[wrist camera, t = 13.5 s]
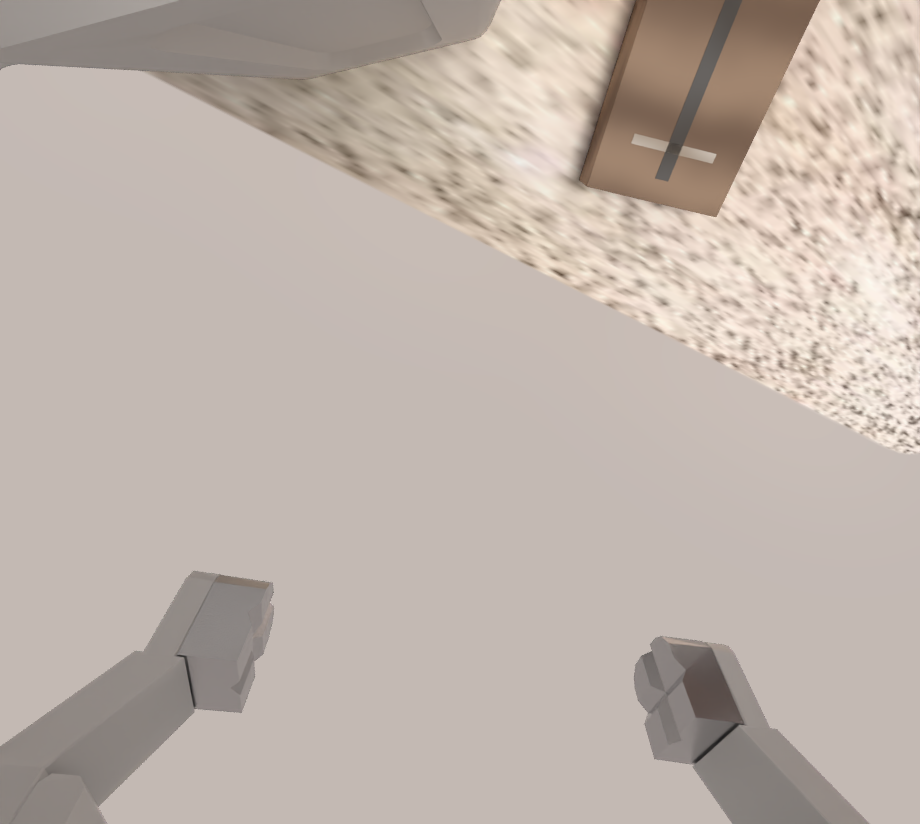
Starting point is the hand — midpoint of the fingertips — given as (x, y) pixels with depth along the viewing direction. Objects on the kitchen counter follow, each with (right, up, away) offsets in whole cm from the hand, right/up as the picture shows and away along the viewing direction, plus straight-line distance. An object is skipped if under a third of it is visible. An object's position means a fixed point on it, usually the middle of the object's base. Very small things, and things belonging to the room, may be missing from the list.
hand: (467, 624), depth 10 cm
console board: (+16, +30, +22) cm, 41 cm away
